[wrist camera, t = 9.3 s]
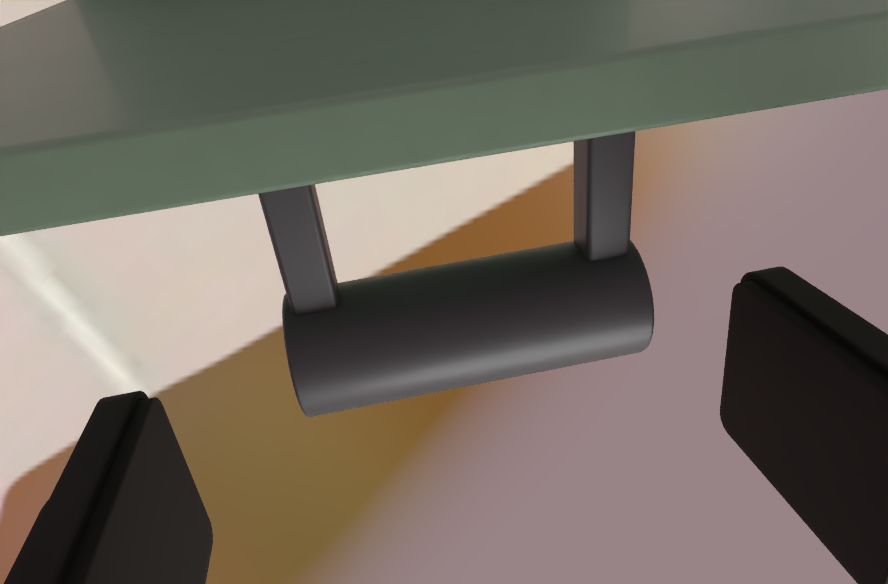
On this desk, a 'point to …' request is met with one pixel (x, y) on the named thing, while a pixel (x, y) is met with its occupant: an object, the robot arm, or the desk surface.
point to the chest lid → (403, 147)
